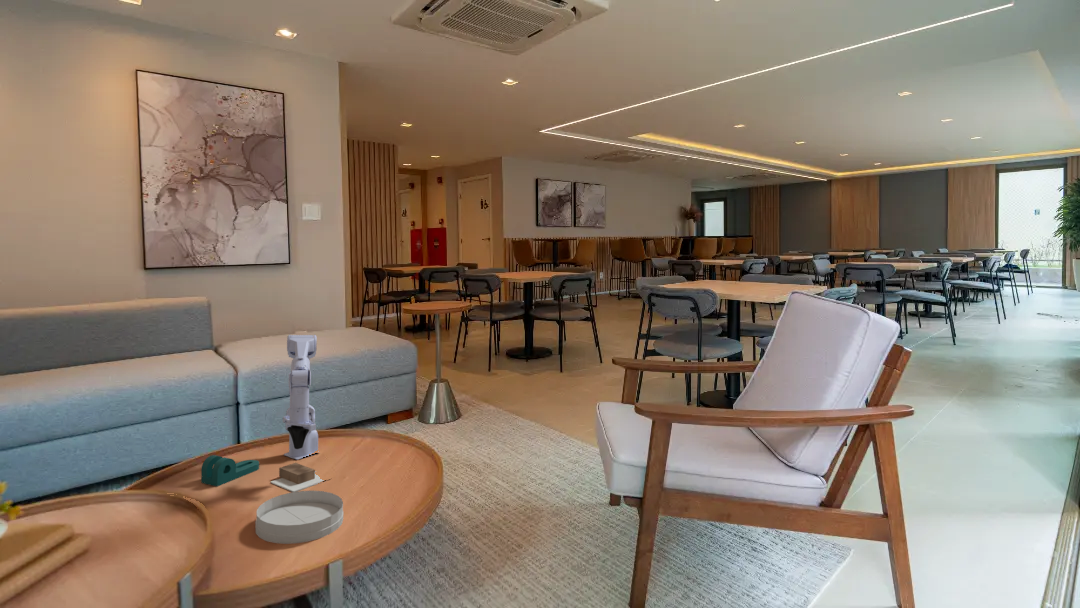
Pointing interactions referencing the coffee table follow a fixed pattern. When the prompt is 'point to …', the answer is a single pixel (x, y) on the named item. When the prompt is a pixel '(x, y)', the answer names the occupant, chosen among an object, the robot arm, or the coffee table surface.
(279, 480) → the grey mat
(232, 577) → the coffee table surface
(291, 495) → the dish
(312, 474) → the walnut block
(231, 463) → the bracket
